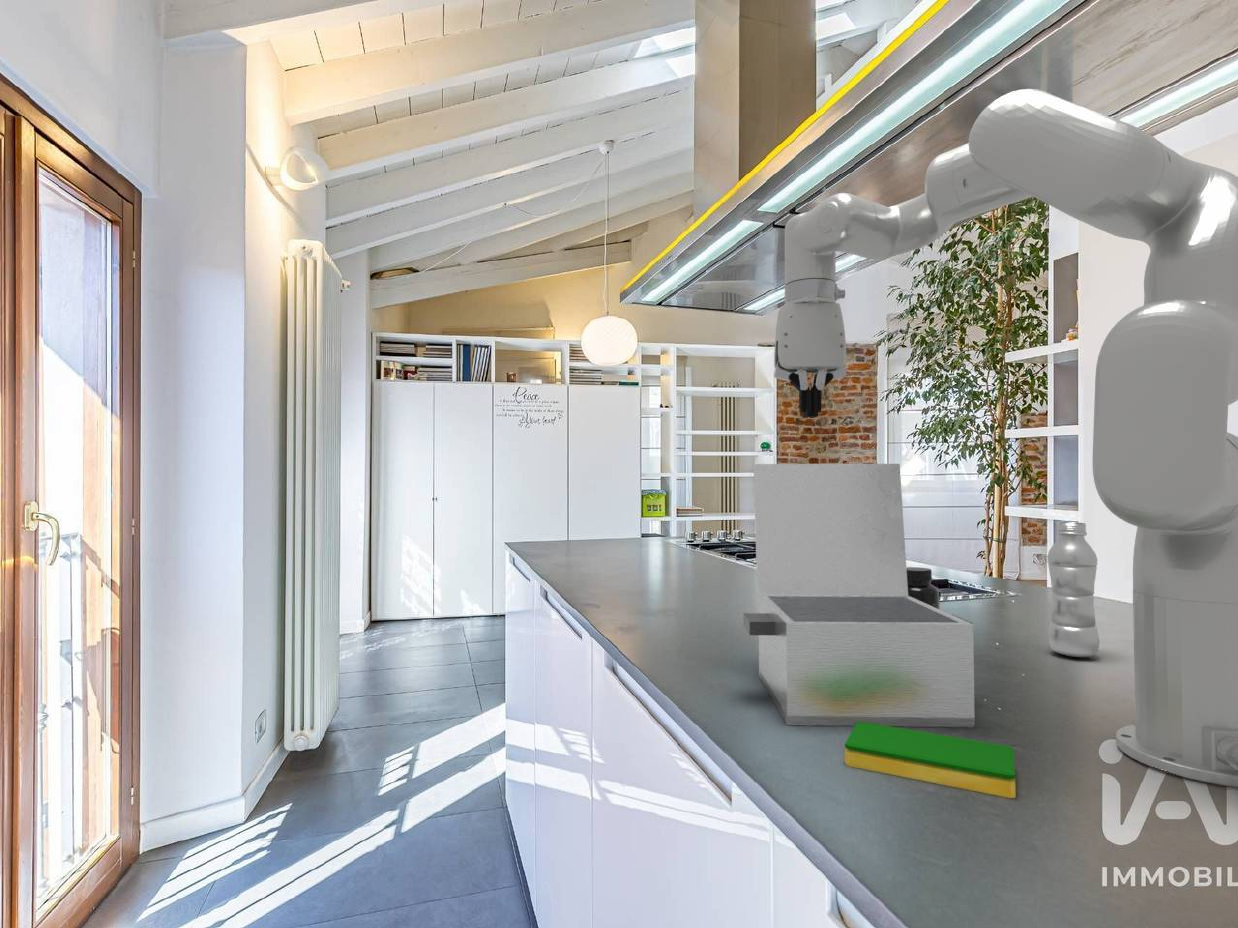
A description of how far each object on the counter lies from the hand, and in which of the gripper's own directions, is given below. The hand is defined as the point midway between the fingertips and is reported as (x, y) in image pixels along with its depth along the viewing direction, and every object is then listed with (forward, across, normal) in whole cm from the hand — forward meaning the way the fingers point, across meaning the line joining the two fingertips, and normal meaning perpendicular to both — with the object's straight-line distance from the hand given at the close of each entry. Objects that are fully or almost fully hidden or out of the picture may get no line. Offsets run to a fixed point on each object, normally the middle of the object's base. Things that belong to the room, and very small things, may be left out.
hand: (810, 417), depth 103 cm
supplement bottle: (+36, -19, -9) cm, 42 cm away
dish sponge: (+37, -1, +39) cm, 54 cm away
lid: (+16, 0, +10) cm, 19 cm away
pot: (+36, 0, +20) cm, 41 cm away
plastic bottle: (+36, -39, -1) cm, 53 cm away
